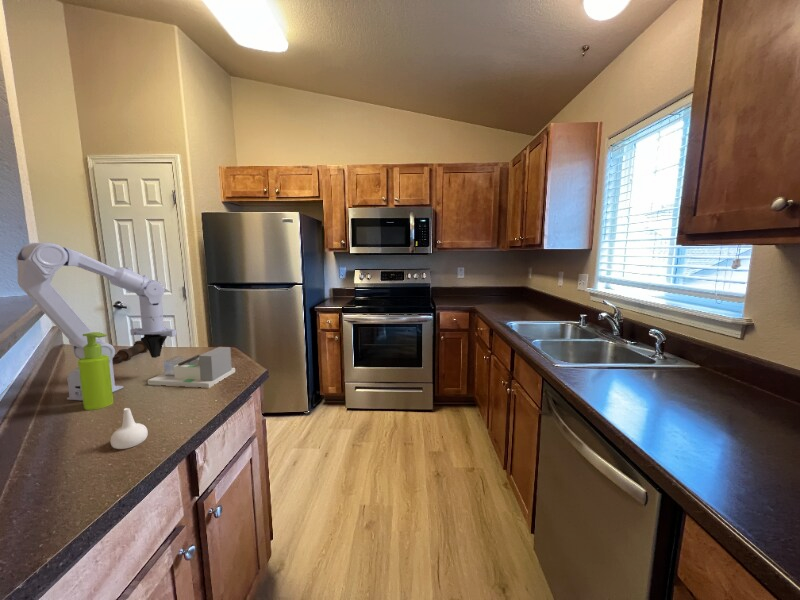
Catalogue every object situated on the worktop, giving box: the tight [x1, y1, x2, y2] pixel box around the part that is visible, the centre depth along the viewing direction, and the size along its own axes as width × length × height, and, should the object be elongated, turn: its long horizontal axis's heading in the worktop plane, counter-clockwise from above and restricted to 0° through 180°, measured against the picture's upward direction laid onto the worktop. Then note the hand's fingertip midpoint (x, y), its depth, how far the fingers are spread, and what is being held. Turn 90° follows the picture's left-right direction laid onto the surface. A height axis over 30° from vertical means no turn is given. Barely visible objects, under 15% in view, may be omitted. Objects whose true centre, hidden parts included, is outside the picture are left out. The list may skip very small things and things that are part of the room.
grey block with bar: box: [163, 354, 201, 375], centre depth 107 cm, size 8×9×5 cm
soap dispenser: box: [77, 331, 114, 411], centre depth 86 cm, size 6×7×20 cm
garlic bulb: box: [109, 407, 149, 450], centre depth 71 cm, size 6×6×8 cm
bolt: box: [112, 340, 149, 364], centre depth 126 cm, size 6×5×15 cm
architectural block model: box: [147, 346, 236, 389], centre depth 107 cm, size 20×14×10 cm
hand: (155, 356), depth 108 cm, fingers closed
